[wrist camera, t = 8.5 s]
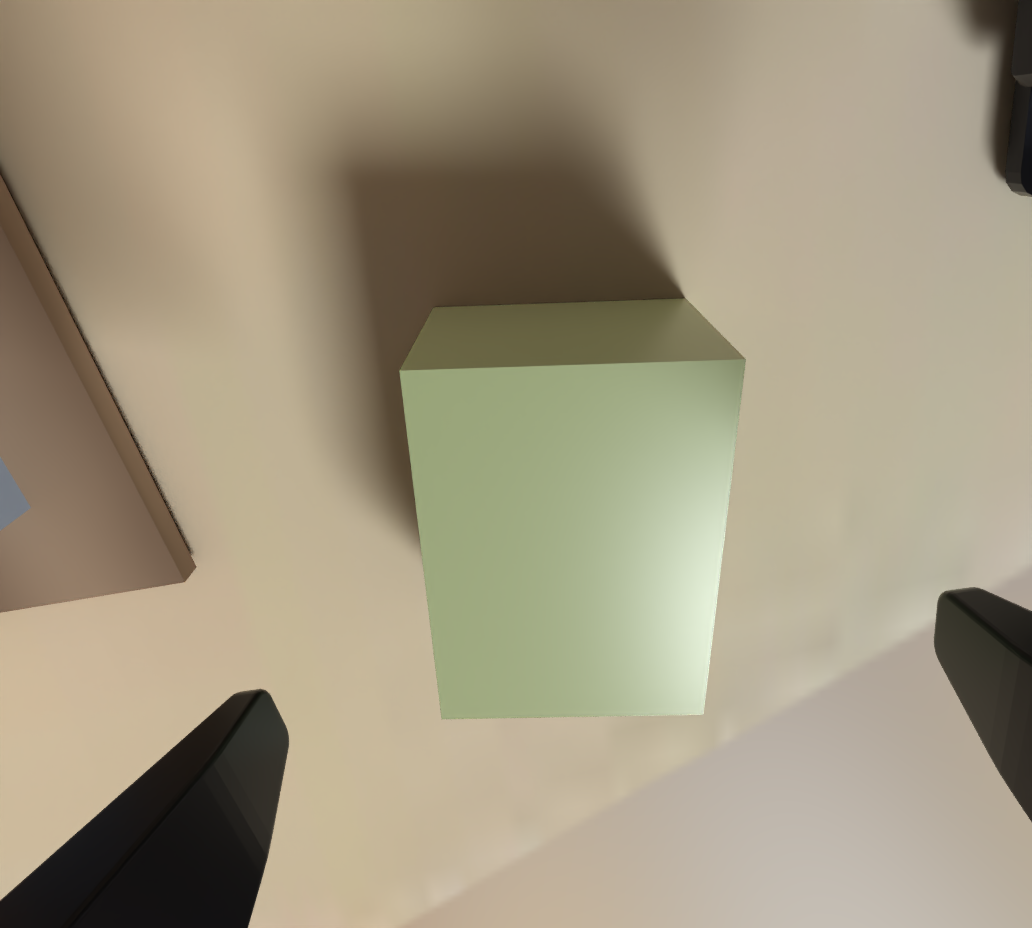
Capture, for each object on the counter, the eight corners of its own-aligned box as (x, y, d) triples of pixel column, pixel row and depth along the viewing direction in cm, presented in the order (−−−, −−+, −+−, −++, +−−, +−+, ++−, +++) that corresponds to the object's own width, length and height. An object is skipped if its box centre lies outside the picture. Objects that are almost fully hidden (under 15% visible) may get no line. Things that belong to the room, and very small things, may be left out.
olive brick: (685, 298, 13) (746, 359, 9) (663, 586, 16) (703, 714, 13) (433, 307, 13) (399, 370, 10) (460, 591, 16) (441, 719, 13)
